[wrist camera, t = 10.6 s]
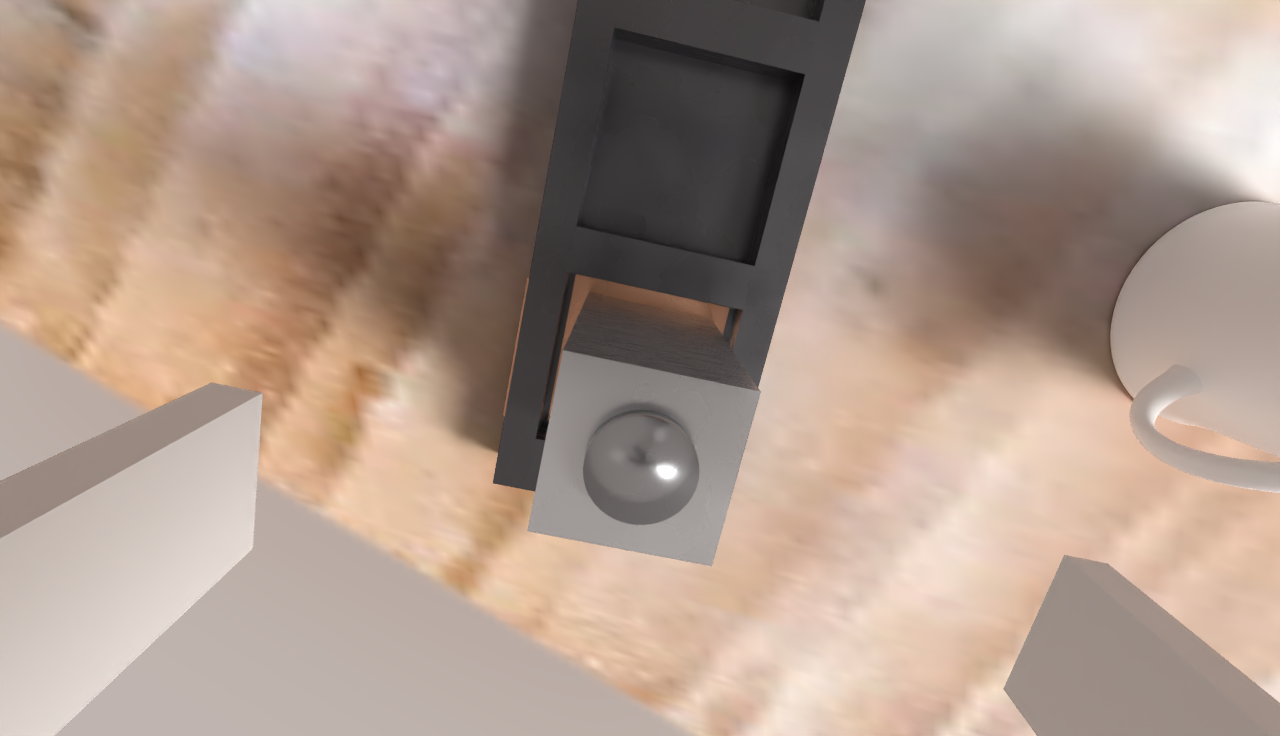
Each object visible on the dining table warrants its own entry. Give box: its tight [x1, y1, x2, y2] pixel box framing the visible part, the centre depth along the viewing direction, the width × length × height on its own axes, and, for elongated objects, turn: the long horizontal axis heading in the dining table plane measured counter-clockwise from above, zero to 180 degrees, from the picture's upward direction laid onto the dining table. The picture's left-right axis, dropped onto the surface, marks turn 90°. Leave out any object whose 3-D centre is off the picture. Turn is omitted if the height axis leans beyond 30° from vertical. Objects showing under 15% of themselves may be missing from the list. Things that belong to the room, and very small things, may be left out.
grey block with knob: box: [528, 292, 760, 566], centre depth 19 cm, size 4×4×10 cm
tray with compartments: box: [493, 0, 866, 491], centre depth 22 cm, size 25×9×2 cm, turn 168°
